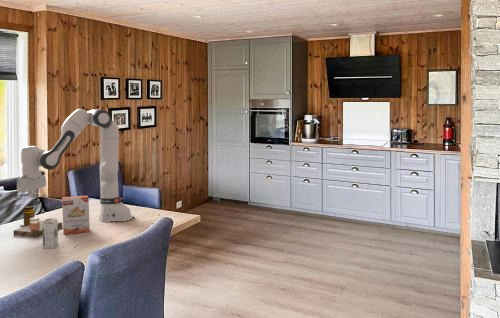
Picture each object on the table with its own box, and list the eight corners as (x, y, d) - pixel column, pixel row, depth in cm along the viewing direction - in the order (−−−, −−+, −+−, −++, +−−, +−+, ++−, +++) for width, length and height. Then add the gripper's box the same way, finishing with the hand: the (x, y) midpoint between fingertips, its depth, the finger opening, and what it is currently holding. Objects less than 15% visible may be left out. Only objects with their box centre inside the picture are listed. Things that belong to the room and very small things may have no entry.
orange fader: (39, 228, 249) (39, 221, 248) (36, 230, 246) (35, 223, 246) (33, 228, 250) (33, 221, 249) (30, 229, 247) (29, 222, 247)
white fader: (39, 224, 258) (39, 217, 258) (35, 225, 256) (35, 218, 255) (33, 223, 259) (33, 217, 259) (29, 225, 257) (29, 218, 256)
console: (62, 227, 265) (62, 222, 264) (36, 237, 244) (36, 232, 243) (41, 225, 268) (40, 220, 268) (13, 235, 247) (13, 230, 247)
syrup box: (47, 245, 230) (45, 218, 228) (58, 245, 231) (57, 218, 229) (43, 248, 224) (41, 221, 223) (54, 248, 225) (53, 221, 223)
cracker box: (64, 235, 249) (62, 199, 246) (63, 232, 254) (61, 197, 251) (90, 232, 255) (88, 196, 253) (88, 229, 260) (87, 194, 258)
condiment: (36, 226, 267) (35, 207, 265) (20, 228, 262) (19, 209, 261) (34, 224, 273) (33, 205, 271) (19, 225, 268) (18, 206, 267)
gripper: (22, 177, 244) (24, 201, 245) (47, 171, 263) (49, 194, 265) (12, 176, 245) (14, 201, 247) (38, 171, 265) (40, 193, 267)
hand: (32, 197), depth 256 cm, fingers closed
